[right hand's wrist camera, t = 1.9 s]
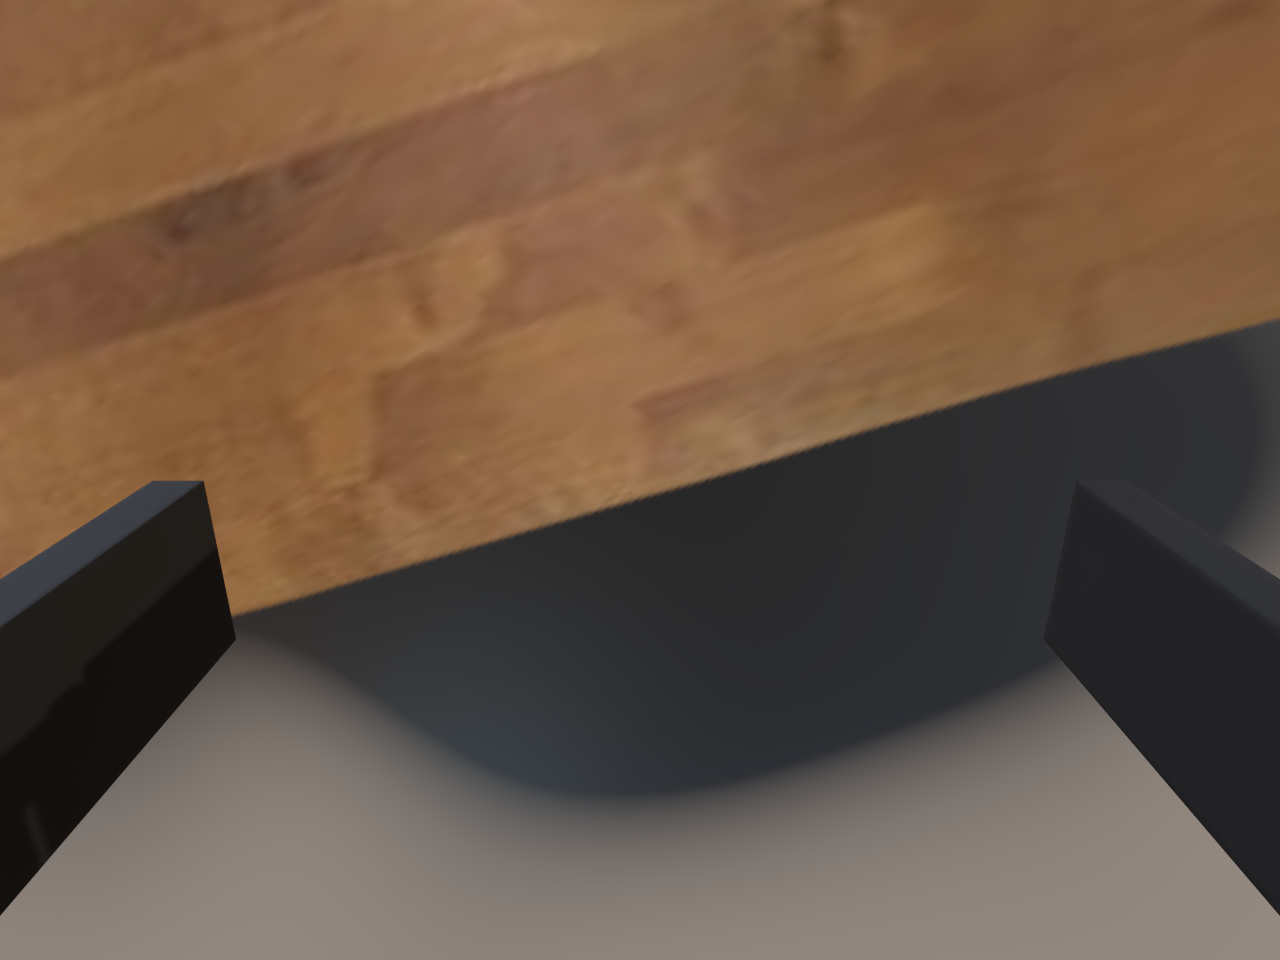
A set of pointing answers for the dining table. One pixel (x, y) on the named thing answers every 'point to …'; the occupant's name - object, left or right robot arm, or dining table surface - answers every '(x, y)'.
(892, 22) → the dining table surface
